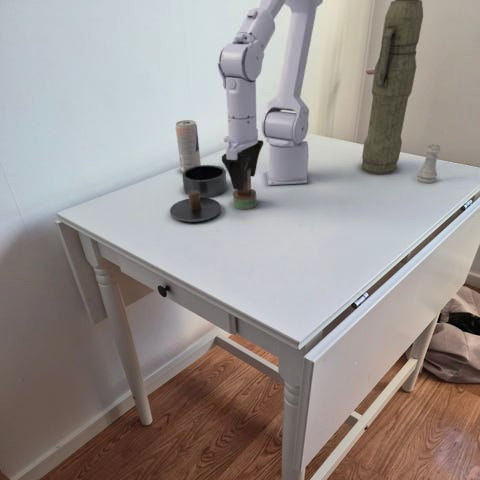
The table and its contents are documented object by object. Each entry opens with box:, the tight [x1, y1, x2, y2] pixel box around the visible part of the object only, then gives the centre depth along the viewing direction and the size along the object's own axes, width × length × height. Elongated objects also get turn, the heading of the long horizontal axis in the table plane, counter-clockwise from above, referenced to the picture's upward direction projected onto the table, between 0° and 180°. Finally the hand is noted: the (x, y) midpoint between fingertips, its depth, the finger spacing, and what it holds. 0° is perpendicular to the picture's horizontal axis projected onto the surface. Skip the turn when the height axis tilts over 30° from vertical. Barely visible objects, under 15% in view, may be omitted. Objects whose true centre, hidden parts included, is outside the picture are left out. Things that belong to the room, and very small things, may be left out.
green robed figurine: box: [360, 0, 424, 176], centre depth 98 cm, size 9×12×35 cm
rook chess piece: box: [416, 143, 442, 184], centre depth 99 cm, size 4×4×8 cm
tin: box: [181, 164, 228, 198], centre depth 102 cm, size 10×10×4 cm
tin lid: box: [169, 190, 222, 223], centre depth 92 cm, size 11×11×5 cm
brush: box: [232, 168, 257, 210], centre depth 93 cm, size 5×5×8 cm
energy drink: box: [175, 119, 202, 173], centre depth 110 cm, size 5×5×12 cm
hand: (244, 182), depth 92 cm, fingers open, 7 cm apart
